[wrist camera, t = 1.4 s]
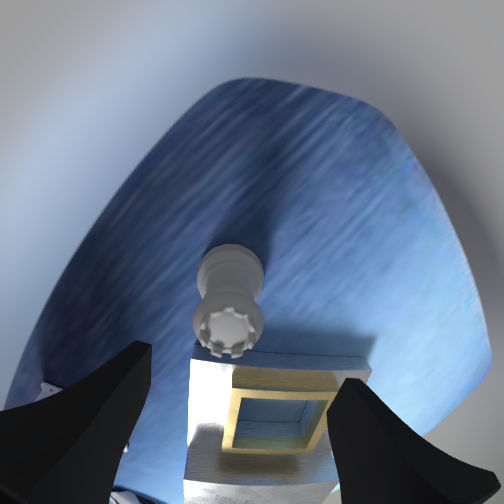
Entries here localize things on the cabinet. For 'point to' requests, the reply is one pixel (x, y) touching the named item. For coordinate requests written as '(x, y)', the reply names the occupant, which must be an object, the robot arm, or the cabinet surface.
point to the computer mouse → (128, 498)
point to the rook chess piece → (229, 300)
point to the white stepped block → (262, 428)
